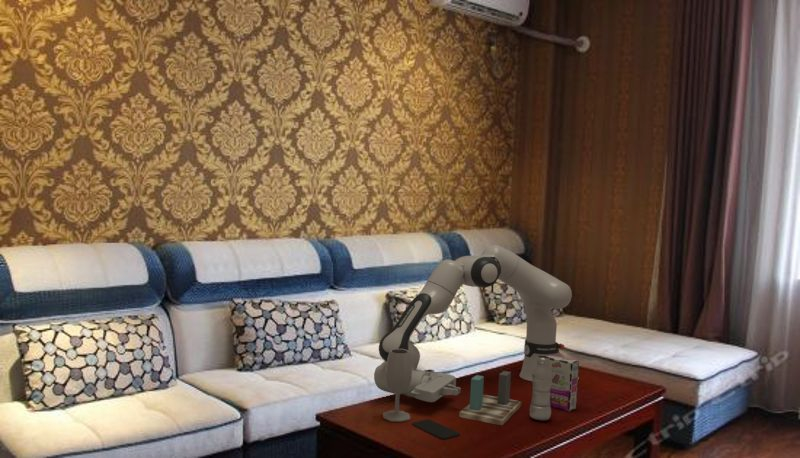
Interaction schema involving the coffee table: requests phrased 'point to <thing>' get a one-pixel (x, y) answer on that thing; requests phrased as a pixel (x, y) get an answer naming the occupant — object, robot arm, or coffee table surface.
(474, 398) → the upright teal brick
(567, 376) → the candy bar box
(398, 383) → the wineglass
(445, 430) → the phone
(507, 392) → the grey slab
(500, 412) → the divided base tray
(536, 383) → the plastic bottle
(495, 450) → the coffee table surface
